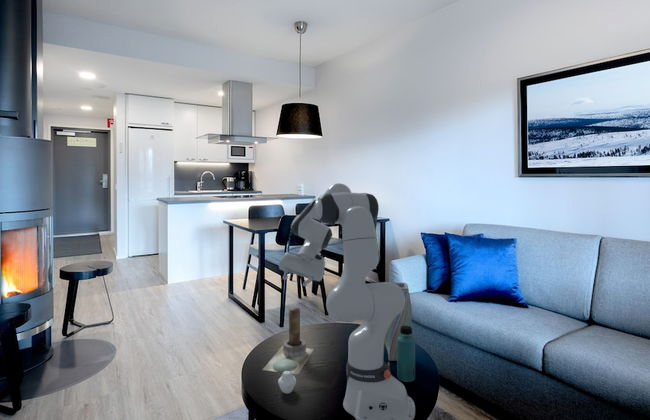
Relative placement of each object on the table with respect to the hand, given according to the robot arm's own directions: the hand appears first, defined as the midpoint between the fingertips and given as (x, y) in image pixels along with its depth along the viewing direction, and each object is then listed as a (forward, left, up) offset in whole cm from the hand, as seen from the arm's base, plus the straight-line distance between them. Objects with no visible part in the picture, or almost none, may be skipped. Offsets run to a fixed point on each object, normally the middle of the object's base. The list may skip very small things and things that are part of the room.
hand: (294, 282), depth 160 cm
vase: (-42, -1, -29) cm, 51 cm away
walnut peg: (-2, +7, -28) cm, 28 cm away
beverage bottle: (-47, +17, -29) cm, 58 cm away
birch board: (-2, +13, -29) cm, 32 cm away
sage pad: (-2, +19, -28) cm, 33 cm away
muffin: (-8, +33, -29) cm, 45 cm away
